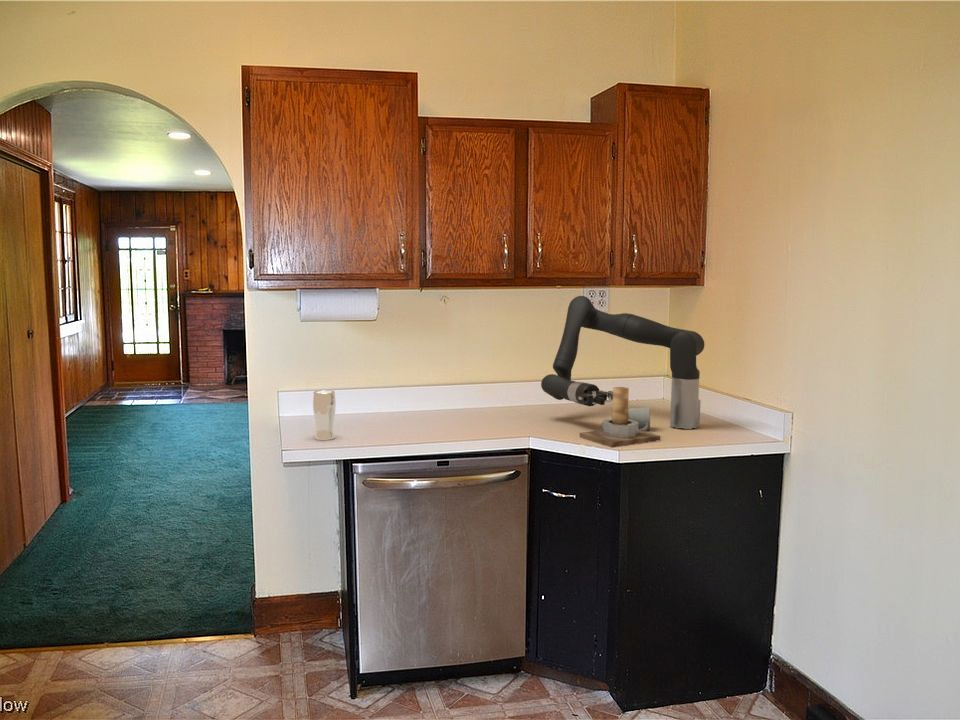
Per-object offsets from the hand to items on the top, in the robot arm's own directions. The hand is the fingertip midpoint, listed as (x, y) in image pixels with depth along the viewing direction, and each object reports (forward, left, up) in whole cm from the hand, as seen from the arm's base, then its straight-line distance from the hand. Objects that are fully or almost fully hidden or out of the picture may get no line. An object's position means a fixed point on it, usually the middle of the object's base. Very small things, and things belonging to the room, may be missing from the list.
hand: (614, 400), depth 256 cm
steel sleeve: (0, +3, -10) cm, 11 cm away
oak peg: (0, +3, -10) cm, 11 cm away
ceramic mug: (-15, -4, -12) cm, 20 cm away
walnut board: (0, +3, -12) cm, 12 cm away
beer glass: (+83, -43, -12) cm, 94 cm away
